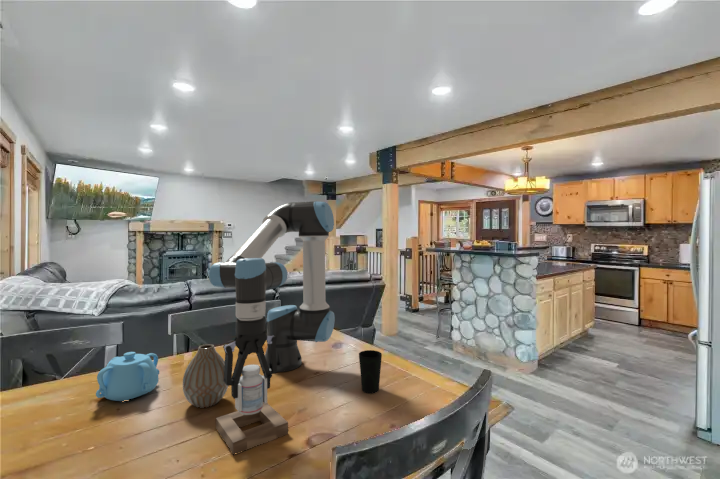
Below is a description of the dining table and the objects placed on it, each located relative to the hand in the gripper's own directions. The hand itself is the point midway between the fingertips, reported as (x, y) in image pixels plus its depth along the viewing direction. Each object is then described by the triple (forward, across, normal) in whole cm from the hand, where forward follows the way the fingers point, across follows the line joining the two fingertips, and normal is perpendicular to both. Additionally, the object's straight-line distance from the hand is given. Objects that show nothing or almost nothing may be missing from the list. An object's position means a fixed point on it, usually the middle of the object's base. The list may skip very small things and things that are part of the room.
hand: (251, 405), depth 89 cm
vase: (+7, -5, +24) cm, 26 cm away
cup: (+7, +40, -1) cm, 41 cm away
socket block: (+7, 0, 0) cm, 7 cm away
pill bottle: (+2, 0, 0) cm, 2 cm away
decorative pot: (+7, -23, +46) cm, 52 cm away
